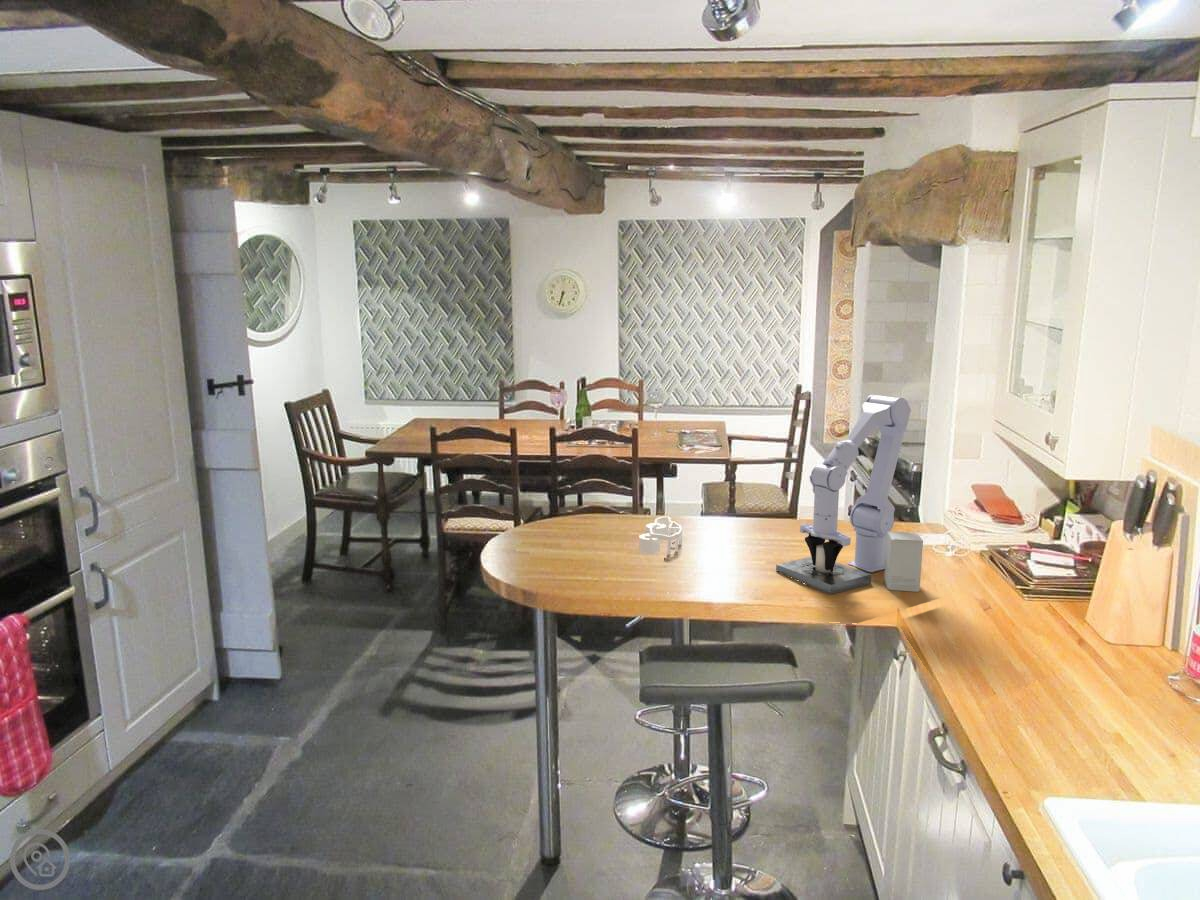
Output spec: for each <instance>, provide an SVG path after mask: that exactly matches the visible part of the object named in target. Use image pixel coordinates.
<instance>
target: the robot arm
mask: <svg viewBox="0 0 1200 900" xmlns="http://www.w3.org/2000/svg"><path fill="white" fill-rule="evenodd" d="M911 411H912V409H911V406H910V405H909V402H908V400H907V399H906V398H904V397H896V396H888V395H887V396H885V395H878V394H875V393H872V394H871V395H869V396H867V398H866V399H865V401H864V403H863V404H862V405H861V415H860V417H859V418H858V420H857V422H856V423H855V425H854V426H853V428H852V429H851V431H850V433H849V435H848V436H847V437H846V438H845V440H840V441H838V442H837V443H836V444H835V445H834V447H833V449H832V450H831V451H830V453H829V454H828V456H827V457H826V458H825V459H824V461H823V462H822V463H819V464H818V465H816V466H814V467H813V469H812V471H811V473H810V475H809V482H810V483H811V486H812V493H813V494H814V495H813V497H814V498H813V518H812V519H813V520H812V524H808V523H803V524H800V525H799V532H800V533H801V534H808V535H807V536H805V537H804V541H805V544H806V545H807V547H808V549H809V552H810V557H812V562H813V565H814V566H816V546H817V545H823V548H824V552H825V569H826V570H831V569H833V568H834V565H835V562H836V561H837V559H838V557H839V554H840V553H841V551H842V549H843V548H844V547H848V546H850V545H851V537H850V536H848V535H845V534H843V533H842V532H840V531H838V517H839V499H840V497H839V494H840V490H841V489H842V487H844V485H845V482H846V478H847V475H848V470H849V469H850V467H851V466H852V465H853V463H854V462H855V461H856V459H857V458H858V456H859V447H860V446H861V445H862V444H863V443H864V442H865V440H866V439H867V438H868V437H869V436H870V435H871V434H872V433H873V431H874V430H875V429H876V428H877V429H878V431H879V433H880V437H879V441H878V446H877V450H876V452H875V453H876V455H875V458H874V461H873V464H872V469H871V472H870V478H869V480H868V484H867V485H868V486H867V489H866V492H865V493H864V494H863V495H861V496H859V497H857V498H856V501H855V504H854V506H853V507H852V509H851V511H850V512H849V513H850V514H849V522H850V525H851V526H852V527H853V531H854V532H855V544H854V545H855V548H854V560H852V561H848V562H846V565H849V564H850V565H849V566H851V565H852V566H851V567H853V566H854V567H853V568H856V567H857V568H856V569H858V570H859V569H860V570H861V571H864V572H867V573H875V572H877V571H882V570H885V559H886V542H887V532H892V530H893V528H894V524H895V519H894V514H895V511H896V508H895V507H894V505H893V504H892V503H891V501H890V500H889V495H890V492H891V491H890V490H891V487H892V486H891V485H892V483H893V479H894V475H895V471H896V467H897V463H898V459H899V455H900V453H901V451H900V450H901V448H902V444H903V440H904V436H905V432H906V431H907V426H908V423H909V419H910V416H911ZM872 506H874V507H872ZM875 507H876V508H875ZM826 540H827V541H826Z"/></svg>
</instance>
